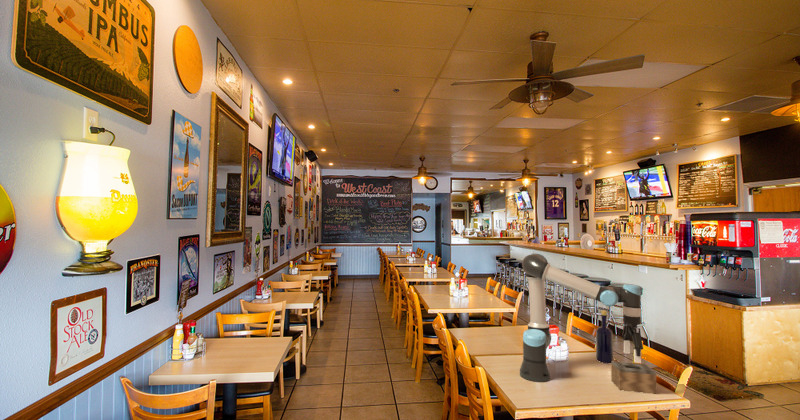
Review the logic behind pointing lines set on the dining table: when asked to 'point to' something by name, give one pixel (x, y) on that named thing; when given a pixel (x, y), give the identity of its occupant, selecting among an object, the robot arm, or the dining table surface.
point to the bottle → (604, 341)
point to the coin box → (633, 377)
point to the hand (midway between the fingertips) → (631, 357)
